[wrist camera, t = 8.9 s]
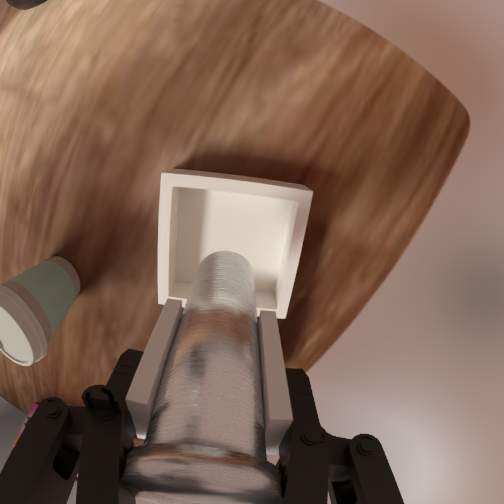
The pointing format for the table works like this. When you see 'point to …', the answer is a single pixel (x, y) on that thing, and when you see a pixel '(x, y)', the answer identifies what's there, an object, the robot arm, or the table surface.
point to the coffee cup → (35, 308)
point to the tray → (231, 231)
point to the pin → (209, 401)
